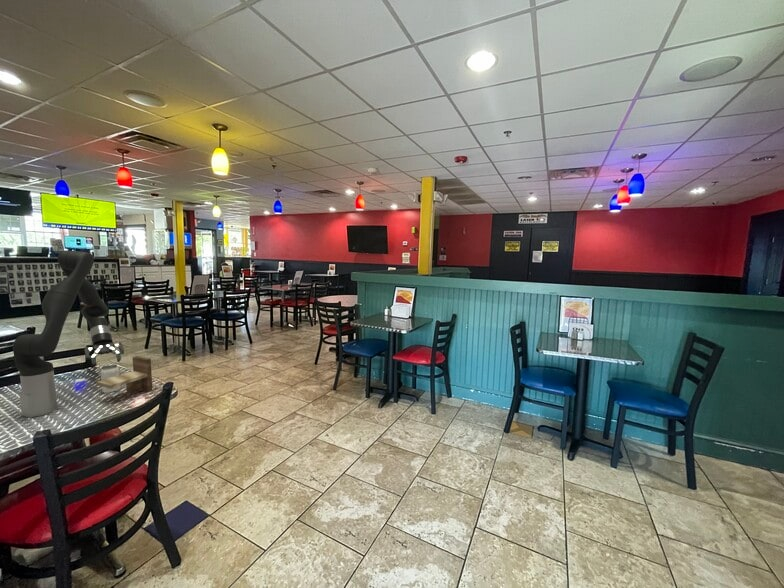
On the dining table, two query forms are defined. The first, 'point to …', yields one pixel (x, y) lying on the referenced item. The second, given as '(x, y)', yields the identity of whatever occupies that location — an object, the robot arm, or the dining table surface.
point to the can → (109, 376)
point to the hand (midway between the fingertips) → (107, 363)
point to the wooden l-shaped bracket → (133, 377)
